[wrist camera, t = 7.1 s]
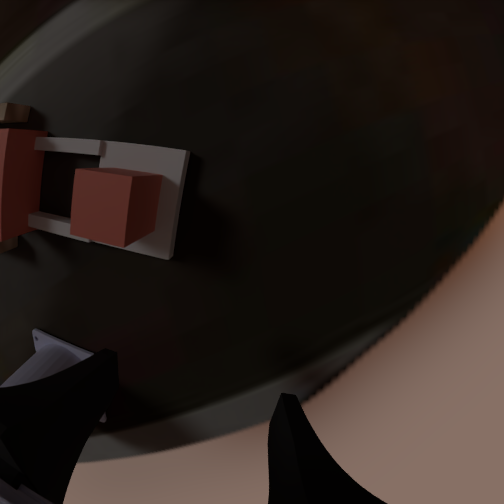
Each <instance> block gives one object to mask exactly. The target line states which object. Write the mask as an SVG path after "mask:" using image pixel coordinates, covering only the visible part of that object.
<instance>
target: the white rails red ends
mask: <svg viewBox="0 0 504 504" xmlns="http://www.w3.org/2000/svg"><path fill="white" fill-rule="evenodd" d="M47 135H48V131H37V130H25V129H10V128H7V129H0V241H1V242H2V241H5V240H8V239H10V238H13V237H16V236H19V235H22V234H25V233H28V232H31V231H34V230H37V229H40V230H44V231H47V232H51V233H55V234H58V235H62V236H66V237H69V238H73V239H77V240H81V241H85V242H91V241H93V242H97V243H101V244H105V245H109V246H113V247H117V248H121V249H125V250H129V251H133V252H137V253H141V254H145V255H150V256H154V257H158V258H162V259H166V260H169V259H170V258H171V257H172V256H173V253H174V245H175V238H176V231H177V225H178V218H179V212H180V206H181V200H182V194H183V188H184V183H185V177H186V172H187V166H188V161H189V156H190V151H186V150H179V149H172V148H165V147H157V146H149V145H141V144H132V143H122V142H112V141H102V140H90V139H75V138H54V137H47ZM45 151H58V152H70V153H81V154H91V155H101V158H100V165H99V168H81V169H75V177H74V186H73V196H72V208H71V218H67V217H63V216H58V215H54V214H50V213H45V212H41V211H39V205H40V190H41V179H42V170H43V161H44V154H45Z"/></svg>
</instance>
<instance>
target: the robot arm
mask: <svg viewBox="0 0 504 504" xmlns="http://www.w3.org/2000/svg"><path fill="white" fill-rule="evenodd" d="M32 333H33V338H34V343H35V348H36V353H35V354H34V355H33V356H32V357H31V358H30V359H29V360H28V361H26V362H25V363H24V364H23V365H22V366H21V367H20V368H19V369H18V370H17V371H16V372H15V373H14V374H13V375H12V376H10V377H9V378H8V379H7V380H6V381H5V382H4V383H3V384H2V385H1V386H0V504H63V501H64V497H65V494H66V491H67V487H68V484H69V481H70V479H71V476H72V473H73V470H74V468H75V465H76V463H77V461H78V458H79V456H80V454H81V452H82V449H83V447H84V445H85V443H86V441H87V439H88V438H89V436H90V434H91V433H92V431H93V430H94V428H95V427H96V425H97V424H98V422H99V421H100V422H106V420H107V418H106V412H105V411H106V410H107V408H108V407H109V405H110V404H111V402H112V400H113V398H114V396H115V393H116V391H117V389H118V387H119V379H118V362H117V352H114V351H112V350H109V349H106V348H105V349H103V350H101V351H99V352H97V353H95V354H94V353H92V352H89V351H87V350H84V349H82V348H79V347H77V346H74V345H72V344H70V343H67V342H65V341H63V340H60V339H58V338H56V337H54V336H51V335H49V334H47V333H45V332H43V331H41V330H39V329H36V328H35V329H34V330H33V331H32ZM268 435H269V436H268V465H269V499H268V504H387V503H385V502H384V501H382V500H380V499H379V498H377V497H376V496H374V495H372V494H371V493H370V492H368V491H367V490H366V489H364V488H363V487H362V486H360V485H359V484H358V483H357V482H355V481H354V480H353V479H352V478H351V477H350V476H349V475H348V474H347V473H346V472H345V471H344V470H343V469H342V468H341V467H340V466H339V465H338V464H337V463H336V461H335V460H334V459H333V458H332V456H331V455H330V454H329V452H328V451H327V450H326V448H325V447H324V446H323V444H322V443H321V441H320V440H319V438H318V436H317V435H316V433H315V431H314V430H313V428H312V426H311V425H310V423H309V421H308V419H307V417H306V415H305V413H304V411H303V409H302V407H301V405H300V403H299V400H298V398H297V396H296V395H293V394H286V393H281V395H280V398H279V400H278V403H277V406H276V408H275V411H274V413H273V416H272V419H271V421H270V424H269V434H268Z"/></svg>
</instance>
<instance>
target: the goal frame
mask: <svg viewBox="0 0 504 504" xmlns="http://www.w3.org/2000/svg"><path fill="white" fill-rule="evenodd" d="M30 107H31V106H26V105H20V104H13V103H1V104H0V124H2V123H20V122H28V117H29V112H30ZM16 247H18V236H16V237H13V238H10V239H8V240H5V241H2V242H1V241H0V254H1V253H3V252H6V251H8V250H11V249H13V248H16Z"/></svg>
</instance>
